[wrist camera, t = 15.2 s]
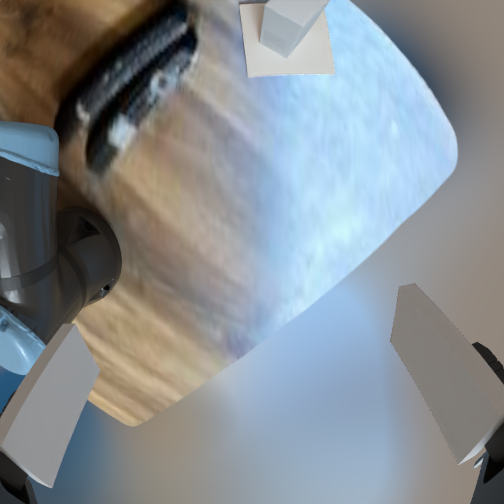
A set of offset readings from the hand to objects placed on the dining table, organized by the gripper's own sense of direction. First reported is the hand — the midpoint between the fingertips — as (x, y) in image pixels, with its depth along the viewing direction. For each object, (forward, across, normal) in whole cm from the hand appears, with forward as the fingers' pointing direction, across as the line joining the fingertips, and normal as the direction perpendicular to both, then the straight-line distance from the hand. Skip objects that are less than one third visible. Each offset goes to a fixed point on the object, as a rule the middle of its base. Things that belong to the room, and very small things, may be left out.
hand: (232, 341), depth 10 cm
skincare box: (+28, +8, +20) cm, 35 cm away
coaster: (+28, +9, +20) cm, 36 cm away
